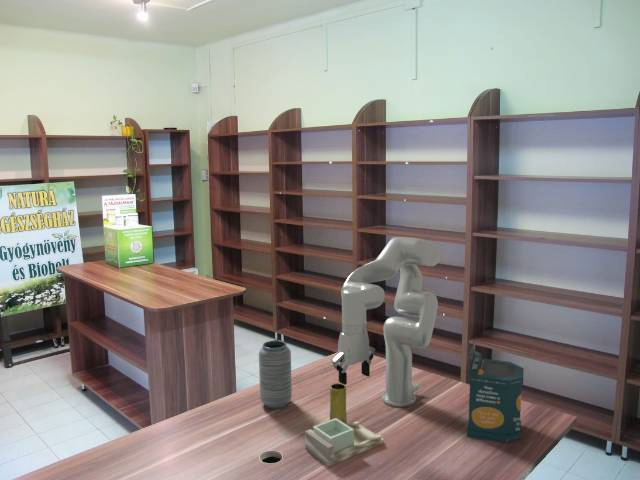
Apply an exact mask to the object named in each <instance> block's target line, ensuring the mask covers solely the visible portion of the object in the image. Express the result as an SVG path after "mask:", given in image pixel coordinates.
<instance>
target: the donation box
mask: <svg viewBox="0 0 640 480" xmlns="http://www.w3.org/2000/svg"><path fill="white" fill-rule="evenodd" d="M482 356H483V354H482V353H480V352H478V351H476V339H475V338H474V339H473V342H472V346H471V349H470V352H469V364H468V365H469V366H468V367H469V369H468V384H469V397H468V398H469V400H468V404H469V405H468V406H469V407H468V424H467V428H466V429H467V431H466V437H467V438H473V439H481V440H485V441H492V442H497V443H502V444H503V443H504V444H508V443H511V442H514V441H517V440H520V439H521V431H522V429H521V428H522V421H521V412H522V411H521V410H522V408H521V407H522V388H523V387H522V386H523V385H524V369H525V368H524V367H522V366H520V365H518V364H516V363H513V362H511V361H507V360H499V359H497V360H496V359H490V358H489V359H487V358H482Z"/></svg>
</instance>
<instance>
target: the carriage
mask: <svg viewBox="0 0 640 480" xmlns="http://www.w3.org/2000/svg"><path fill="white" fill-rule="evenodd" d="M348 425H349V424H347V425H346V424H345V423H343V422H341V421H340V420H338V419H337V418H335V419H332V420H330V419H329V420H327V421H325V422H321V423H318V424H317V425H314V426H312V431H314V432H315V433H316V434H318V435H319V436H321V437H322V438H324V439H325V440H326V441H328V442H329V443H331V444H332V445H334V454H335V453H337V452H339V451H342V450H344V449H347V448H349V447H351V446H354V429H353V428H351V427H349V426H348Z"/></svg>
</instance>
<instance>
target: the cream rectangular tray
mask: <svg viewBox="0 0 640 480" xmlns="http://www.w3.org/2000/svg"><path fill="white" fill-rule="evenodd" d="M347 425H348V426H349V427H351V428H353V429H354V446H351V447H349V448H347V449H344V450H342V451H339V452H337V453H335V454H334V445H332V444H331V443H329V442H328V441H326V440H325V439H324V438H322V437H321V436H319V435H318V434H316V433H315V432H314V431H313V429H310V428H309V429H307V430H305V431H304V441H305V443H304V445H305V446H304V449H305V450H306V451H307V452H308V453H310V454H311V455H312V456H313V457H315V458H316V459H318V460H319V461H320V462H322V463H323V464H324V465H326V466H327V467H331V466H333V465H335V464H337V463H341V462H342V461H346V460H348V459H349V458H352V457H353V456H356V455H358V454H360V453H363V452H365V451H368V450H370V449H372V448H374V447H376V446H380V445H381V444H382V445H383V443H385V441H384V438H383V437H382V435H380V434H378V435H377V433H375V432H373V431H372V430H370V429H368V428H366V427H364V426H363V425H361V424H360V422H359V421H358V420H357V421H354V422H352V423H349V424H347Z"/></svg>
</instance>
